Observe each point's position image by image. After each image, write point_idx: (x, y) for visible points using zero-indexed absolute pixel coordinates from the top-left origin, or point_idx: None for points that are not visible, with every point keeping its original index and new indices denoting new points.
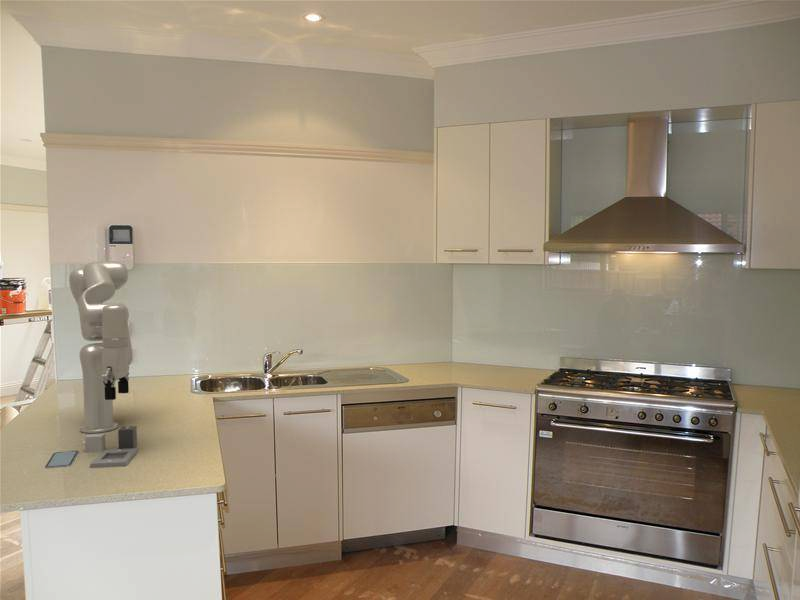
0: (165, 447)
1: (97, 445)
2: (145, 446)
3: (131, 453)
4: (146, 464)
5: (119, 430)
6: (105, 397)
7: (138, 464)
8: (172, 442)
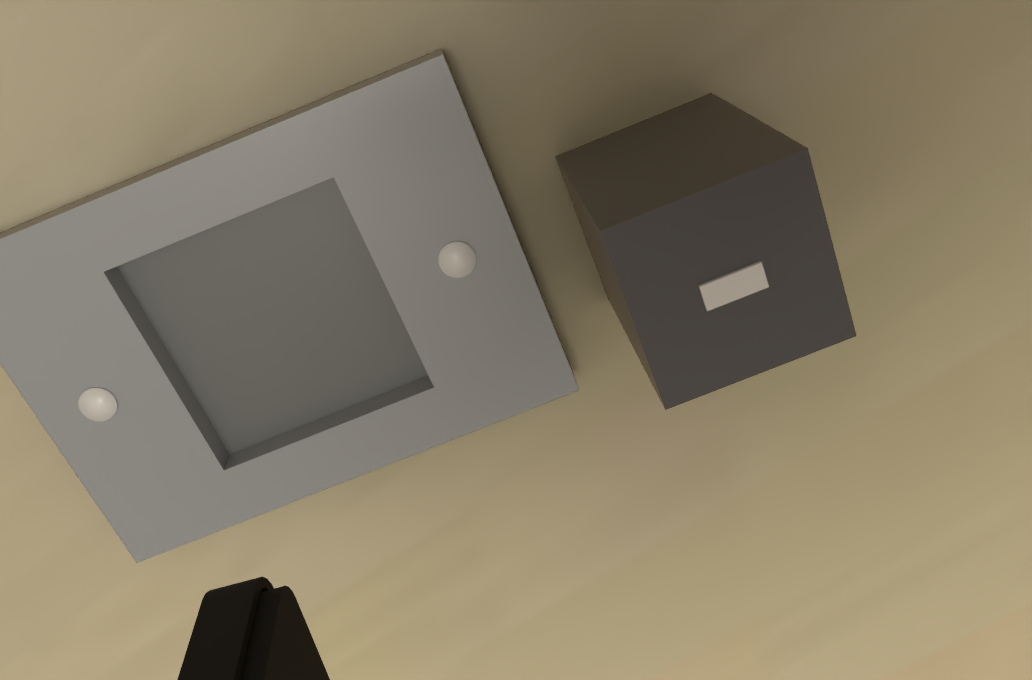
0: (756, 529)
1: None
2: None
3: (393, 447)
4: None
5: (605, 244)
6: (207, 637)
7: None
8: (924, 495)
